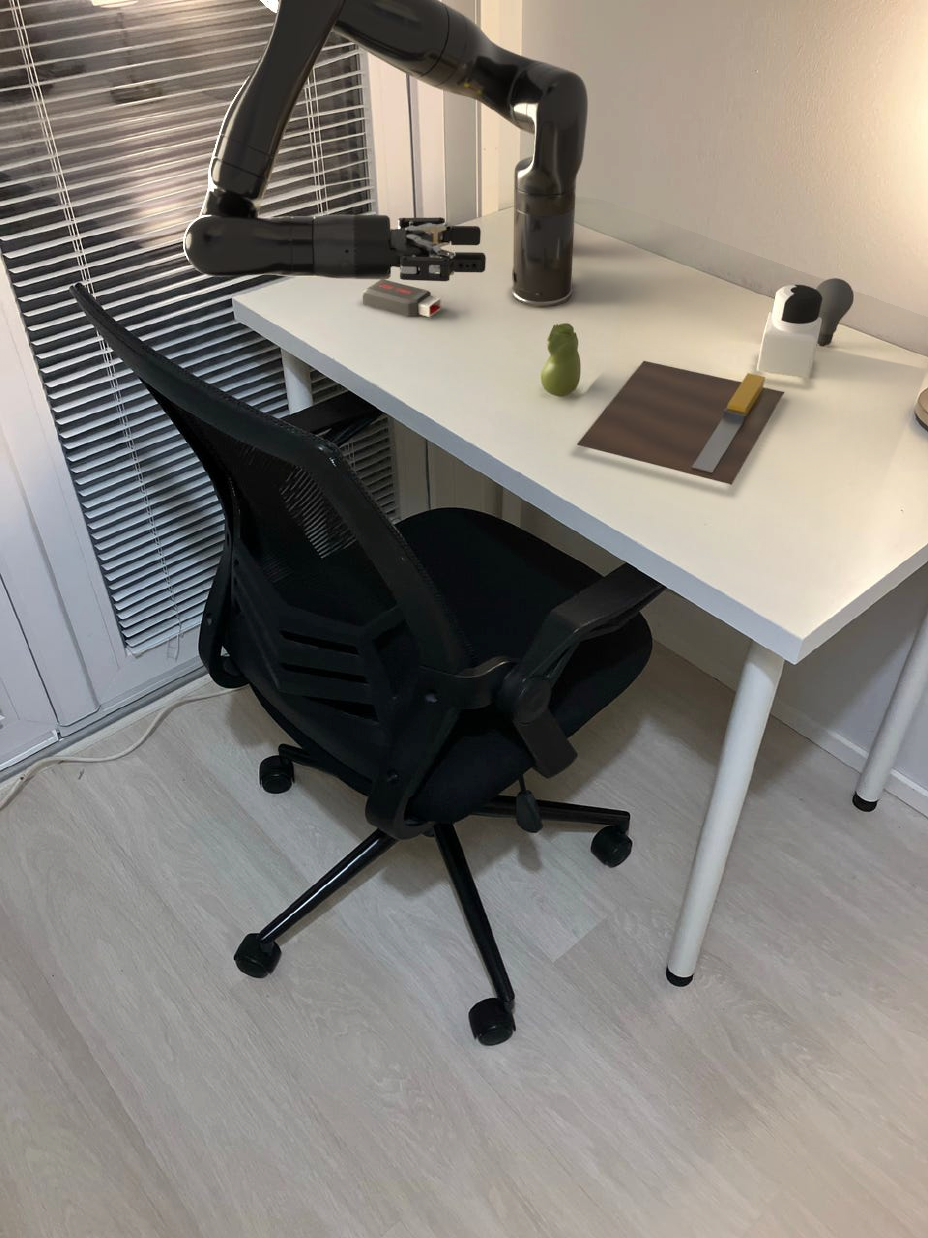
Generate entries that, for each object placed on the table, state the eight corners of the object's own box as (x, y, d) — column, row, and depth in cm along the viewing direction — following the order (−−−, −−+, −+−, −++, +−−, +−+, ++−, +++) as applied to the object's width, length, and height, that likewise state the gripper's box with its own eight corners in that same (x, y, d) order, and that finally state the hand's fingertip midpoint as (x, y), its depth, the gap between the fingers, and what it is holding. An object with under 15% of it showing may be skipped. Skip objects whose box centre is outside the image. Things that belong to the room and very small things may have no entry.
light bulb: (801, 335, 156) (815, 270, 149) (840, 338, 155) (856, 272, 148) (803, 352, 152) (817, 287, 145) (842, 356, 151) (859, 289, 144)
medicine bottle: (812, 363, 149) (830, 282, 141) (807, 387, 144) (825, 305, 136) (761, 356, 151) (776, 276, 143) (754, 380, 146) (769, 298, 138)
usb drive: (381, 291, 170) (380, 274, 168) (444, 307, 165) (443, 291, 163) (362, 303, 166) (361, 287, 165) (426, 321, 162) (425, 304, 160)
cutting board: (642, 369, 149) (643, 360, 148) (782, 401, 142) (784, 391, 141) (576, 454, 133) (576, 444, 132) (729, 494, 126) (731, 484, 125)
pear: (573, 406, 142) (577, 338, 135) (535, 400, 143) (537, 332, 137) (583, 386, 146) (587, 319, 139) (546, 380, 147) (549, 313, 141)
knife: (744, 384, 143) (746, 372, 141) (764, 389, 142) (766, 377, 140) (690, 468, 128) (692, 456, 127) (712, 474, 127) (714, 461, 126)
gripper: (350, 238, 122) (489, 240, 123) (352, 195, 132) (480, 197, 134) (352, 300, 127) (485, 301, 128) (353, 254, 137) (477, 255, 139)
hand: (482, 248), depth 131 cm, fingers open, 8 cm apart
